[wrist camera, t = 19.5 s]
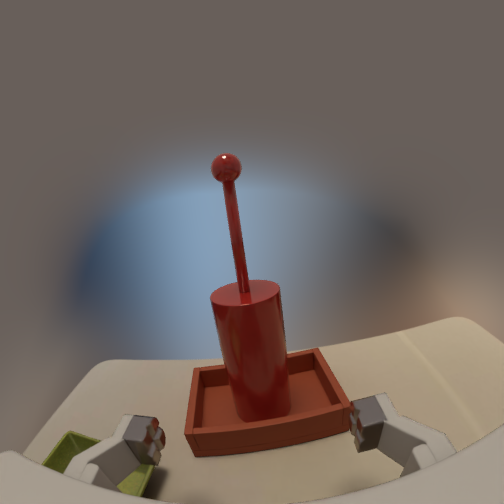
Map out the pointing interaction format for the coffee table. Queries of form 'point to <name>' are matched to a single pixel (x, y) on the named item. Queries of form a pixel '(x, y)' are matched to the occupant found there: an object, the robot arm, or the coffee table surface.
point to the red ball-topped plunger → (250, 323)
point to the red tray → (273, 430)
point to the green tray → (78, 443)
